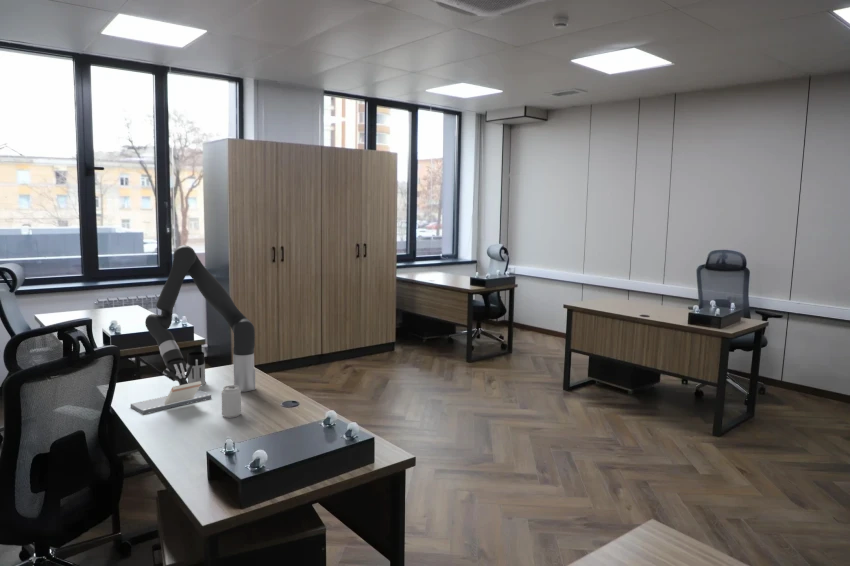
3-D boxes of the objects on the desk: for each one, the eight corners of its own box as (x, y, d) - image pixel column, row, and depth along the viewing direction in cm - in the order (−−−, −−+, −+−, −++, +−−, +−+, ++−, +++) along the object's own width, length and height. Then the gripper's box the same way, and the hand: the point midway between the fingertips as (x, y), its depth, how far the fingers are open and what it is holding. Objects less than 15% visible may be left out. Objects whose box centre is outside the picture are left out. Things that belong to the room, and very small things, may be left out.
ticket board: (198, 392, 274) (197, 388, 273) (211, 398, 266) (211, 394, 266) (130, 407, 251) (130, 403, 251) (143, 414, 243) (142, 410, 243)
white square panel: (191, 396, 259) (200, 380, 253) (192, 398, 259) (201, 383, 252) (164, 402, 250) (172, 386, 244) (165, 404, 250) (173, 389, 243)
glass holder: (205, 380, 292) (205, 350, 291) (207, 388, 280) (206, 357, 278) (186, 382, 289) (185, 351, 287) (187, 390, 276) (186, 358, 274)
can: (244, 412, 248) (243, 384, 247) (236, 419, 241) (236, 390, 239) (226, 411, 249) (226, 383, 247) (218, 417, 241) (218, 389, 240)
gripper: (158, 350, 249) (172, 385, 242) (188, 346, 259) (203, 379, 252) (152, 360, 253) (166, 395, 247) (183, 355, 263) (197, 388, 256)
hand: (185, 387), depth 249 cm, fingers closed
